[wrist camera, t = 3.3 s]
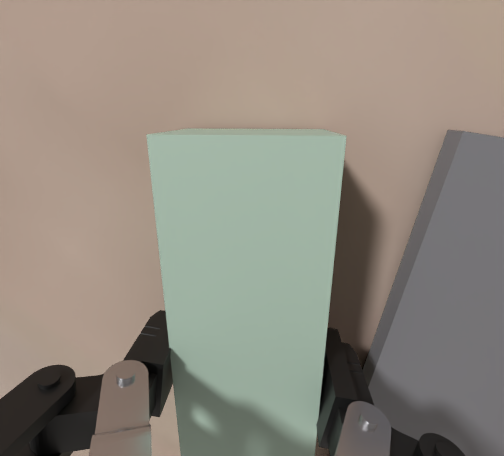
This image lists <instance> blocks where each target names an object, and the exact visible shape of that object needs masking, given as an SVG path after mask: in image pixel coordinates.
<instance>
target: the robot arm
mask: <svg viewBox="0 0 504 456" xmlns="http://www.w3.org/2000/svg"><path fill="white" fill-rule="evenodd" d="M170 356H171V348H169V339H168V330H167V321H166V311H162V310H160V311H158V312H157V313H155V314H154V315H153V316H151V317H150V319H149V320H148V322H147V323H146V325H145V327H144V328H143V330H142V331H141V334H140V335H139V336H138V338H137V339H136V341H135V342H134V344H133V346H132V347H131V349H130V350H129V352H128V354H127V355H126V357H125V358H124V360H123V361H121V362H118V363H116V364H114V365H112V366H111V367H109V368H108V369H107V370H106V372H105V373H104V374H102V375H97V376H88V377H77V378H75V372H74V371H73V369H71V368H70V367H68V366H65V365H52V366H48V367H45V368H42V369H40V370H38V371H36V372H34V373H33V374H32V375H30V376H29V377H28V378H26V379H25V380H24V381H23V382H21V383H20V384H19V385H18V386H16V387H15V388H14V389H13V390H11V391H10V392H9V393H7V394H6V395H5V396H4V397H2V398H1V399H0V456H70V455H71V454H72V453H73V451H78V450H84V449H90V452H89V456H152V452H151V425H150V423H149V420H150V418H151V416H156V417H160V415H161V412H162V410H163V407H164V405H165V402H166V400H167V397H168V394H169V392H170V389H171V387H172V384H173V377H172V367H171V358H170ZM316 427H317V435H318V442H319V447H322V448H328V449H329V452H330V456H465V454H464V453H463V452H462V451H461V450H460V449H459V448H458V447H457V446H456V445H455V444H454V443H453V442H451V441H450V440H449V439H447V438H445V437H443V436H441V435H439V434H435V433H425V434H423V435H422V436H421V437H420V439H419V441H418V440H416V439H414V438H412V437H410V436H408V435H406V434H403V433H401V432H399V431H397V430H395V429H394V428H392V427H391V425H390V422H389V420H388V419H387V417H386V416H385V414H384V413H383V412H382V411H381V410H379V409H378V408H377V407H375V406H374V403H373V400H372V397H371V394H370V391H369V388H368V385H367V382H366V379H365V376H364V375H363V371H362V368H361V366H360V362H359V359H358V356H357V353H356V352H355V351H354V350H353V348H352V347H351V346H350V345H349V344H347V343H341V339H340V336H339V332H338V330H337V329H333V328H327V337H326V347H325V357H324V367H323V377H322V387H321V397H320V407H319V417H318V421H317V424H316Z"/></svg>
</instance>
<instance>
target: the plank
mask: <svg viewBox="0 0 504 456" xmlns="http://www.w3.org/2000/svg"><path fill="white" fill-rule="evenodd" d="M147 143H148V153H149V162H150V171H151V181H152V190H153V199H154V209H155V218H156V227H157V237H158V246H159V255H160V265H161V274H162V283H163V293H164V302H165V311H166V321H167V330H168V339H169V348H171V356H170V358H171V367H172V377H173V386H174V395H175V405H176V414H177V423H178V433H179V442H180V451H181V456H315V447H316V437H317V427H316V424H317V421H318V417H319V407H320V397H321V387H322V377H323V367H324V357H325V347H326V337H327V327H328V317H329V306H330V296H331V286H332V276H333V266H334V256H335V246H336V236H337V226H338V216H339V206H340V196H341V186H342V176H343V165H344V155H345V145H346V136H345V135H342V134H338V133H335V132H331V131H328V130H324V129H182V130H175V131H168V132H161V133H154V134H147Z"/></svg>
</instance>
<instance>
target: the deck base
mask: <svg viewBox="0 0 504 456" xmlns="http://www.w3.org/2000/svg"><path fill="white" fill-rule="evenodd" d="M362 371H363V375H364V376H365V379H366V382H367V385H368V388H369V391H370V394H371V397H372V400H373V403H374V406H375V407H377V408H378V409H379V410H381V411H382V412H383V413H384V414H385V416H386V417H387V419H388V420H389V422H390V425H391V427H392V428H394V429H395V430H397V431H399V432H401V433H403V434H406V435H408V436H410V437H412V438H414V439H416V440H418V441H419V439H420V437H421V436H422V435H423V434H425V433H435V434H439V435H441V436H443V437H445V438H447V439H449V440H450V441H451V442H453V443H454V444H455V445H456V446H457V447H458V448H459V449H460V450H461V451H462V452H463V453H464V454H465V456H504V138H502V137H496V136H490V135H484V134H478V133H472V132H465V131H455V130H448V131H447V134H446V136H445V139H444V142H443V145H442V148H441V150H440V153H439V156H438V159H437V162H436V165H435V167H434V170H433V173H432V176H431V179H430V181H429V184H428V187H427V190H426V193H425V196H424V198H423V201H422V204H421V207H420V210H419V213H418V215H417V218H416V221H415V224H414V227H413V229H412V232H411V235H410V238H409V241H408V244H407V246H406V249H405V252H404V255H403V258H402V260H401V263H400V266H399V269H398V272H397V275H396V277H395V280H394V283H393V286H392V289H391V291H390V294H389V297H388V300H387V303H386V306H385V308H384V311H383V314H382V317H381V320H380V323H379V325H378V328H377V331H376V334H375V337H374V339H373V342H372V345H371V348H370V351H369V354H368V356H367V359H366V362H365V365H364V368H363V370H362Z"/></svg>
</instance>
